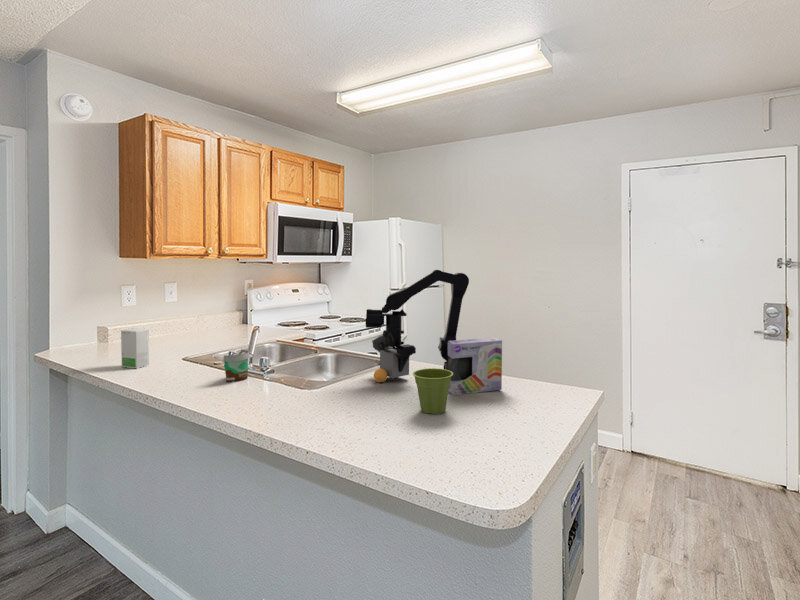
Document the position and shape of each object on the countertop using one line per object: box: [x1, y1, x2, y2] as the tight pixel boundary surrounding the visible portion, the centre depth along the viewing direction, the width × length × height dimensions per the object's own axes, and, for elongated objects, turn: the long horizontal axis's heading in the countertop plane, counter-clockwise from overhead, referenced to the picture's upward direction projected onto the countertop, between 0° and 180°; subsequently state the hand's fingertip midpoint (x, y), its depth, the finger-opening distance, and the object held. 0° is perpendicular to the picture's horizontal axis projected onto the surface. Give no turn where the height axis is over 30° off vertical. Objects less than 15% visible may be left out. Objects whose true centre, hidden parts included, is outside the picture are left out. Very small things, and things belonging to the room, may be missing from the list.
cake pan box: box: [447, 337, 503, 396], centre depth 149 cm, size 19×5×18 cm, turn 105°
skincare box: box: [120, 327, 150, 369], centre depth 185 cm, size 8×7×16 cm
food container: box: [222, 349, 251, 383], centre depth 165 cm, size 12×6×10 cm, turn 168°
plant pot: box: [412, 367, 453, 415], centre depth 130 cm, size 12×12×11 cm
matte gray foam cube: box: [379, 349, 410, 379], centre depth 165 cm, size 8×8×9 cm
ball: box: [373, 367, 388, 383], centre depth 161 cm, size 5×5×5 cm
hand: (393, 369), depth 165 cm, fingers closed on matte gray foam cube, 8 cm apart
